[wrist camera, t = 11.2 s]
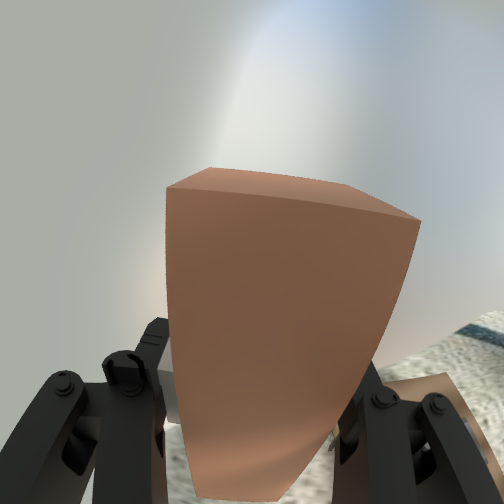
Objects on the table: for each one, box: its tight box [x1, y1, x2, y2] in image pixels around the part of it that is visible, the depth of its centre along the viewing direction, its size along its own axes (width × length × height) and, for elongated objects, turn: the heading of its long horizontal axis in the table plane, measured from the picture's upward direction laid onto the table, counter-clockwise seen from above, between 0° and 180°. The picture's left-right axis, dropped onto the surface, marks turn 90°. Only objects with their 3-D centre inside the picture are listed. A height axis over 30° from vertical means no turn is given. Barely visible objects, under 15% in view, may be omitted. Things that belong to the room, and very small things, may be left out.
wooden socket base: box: [333, 373, 504, 503], centre depth 15 cm, size 25×15×11 cm, turn 0°
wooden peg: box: [166, 168, 421, 502], centre depth 8 cm, size 4×4×14 cm
